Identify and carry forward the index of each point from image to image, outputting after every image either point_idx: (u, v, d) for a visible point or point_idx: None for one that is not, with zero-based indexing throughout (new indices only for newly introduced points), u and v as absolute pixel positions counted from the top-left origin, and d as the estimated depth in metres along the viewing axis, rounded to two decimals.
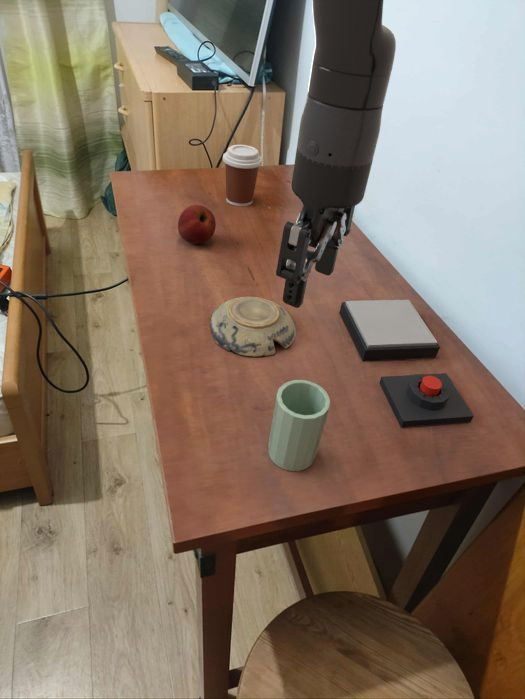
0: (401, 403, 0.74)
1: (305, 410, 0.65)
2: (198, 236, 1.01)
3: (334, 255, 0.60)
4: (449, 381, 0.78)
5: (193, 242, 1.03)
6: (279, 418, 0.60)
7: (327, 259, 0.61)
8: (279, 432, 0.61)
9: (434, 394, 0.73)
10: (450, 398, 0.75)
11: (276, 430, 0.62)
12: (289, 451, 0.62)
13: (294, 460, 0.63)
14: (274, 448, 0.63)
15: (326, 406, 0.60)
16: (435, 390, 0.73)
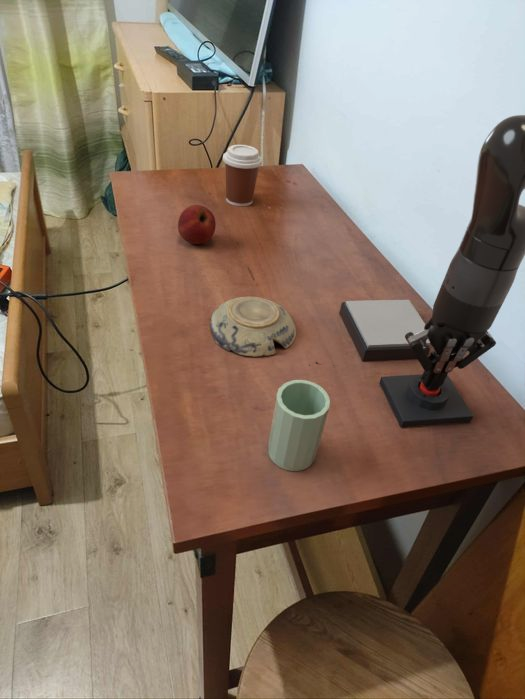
0: (401, 403, 0.74)
1: (305, 410, 0.65)
2: (198, 236, 1.01)
3: (439, 376, 0.71)
4: (449, 381, 0.78)
5: (193, 242, 1.03)
6: (279, 418, 0.60)
7: None
8: (279, 432, 0.61)
9: None
10: (450, 398, 0.75)
11: (276, 430, 0.62)
12: (289, 451, 0.62)
13: (294, 460, 0.63)
14: (274, 448, 0.63)
15: (326, 406, 0.60)
16: (433, 394, 0.73)
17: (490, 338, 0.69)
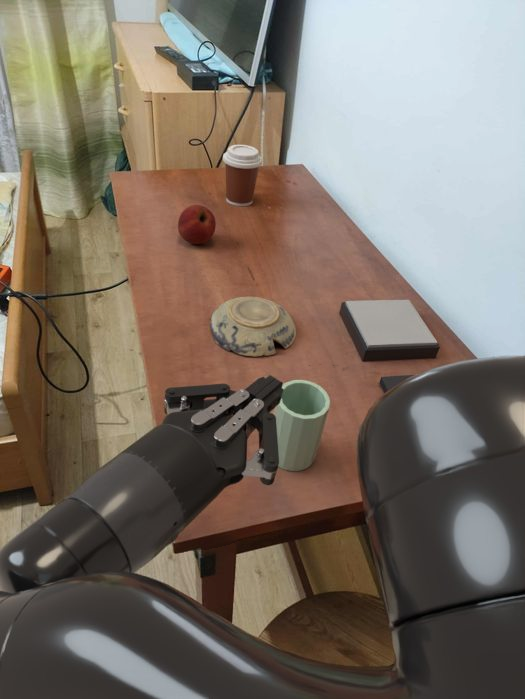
0: None
1: (305, 410, 0.65)
2: (198, 236, 1.01)
3: (259, 392, 0.47)
4: None
5: (193, 242, 1.03)
6: (279, 418, 0.60)
7: None
8: (279, 432, 0.61)
9: None
10: None
11: None
12: (289, 451, 0.62)
13: (294, 460, 0.63)
14: None
15: (326, 406, 0.60)
16: None
17: (168, 400, 0.45)
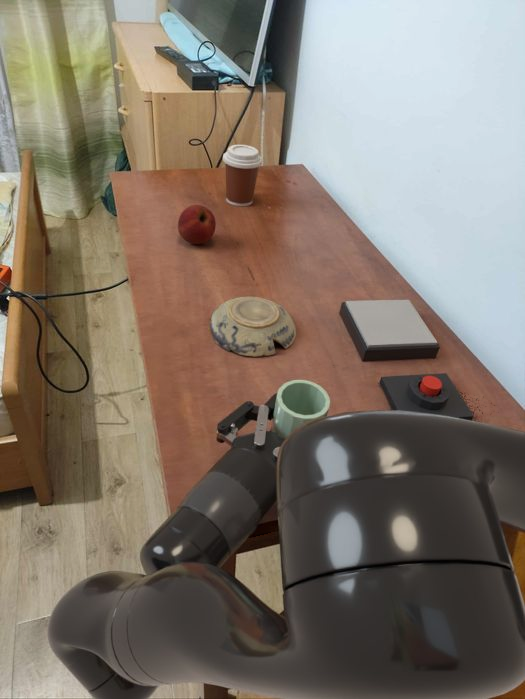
0: (401, 403, 0.74)
1: (305, 410, 0.65)
2: (198, 236, 1.01)
3: None
4: (449, 381, 0.78)
5: (193, 242, 1.03)
6: (279, 418, 0.60)
7: None
8: (279, 432, 0.61)
9: (434, 394, 0.73)
10: (450, 398, 0.75)
11: (276, 430, 0.62)
12: None
13: None
14: None
15: (326, 406, 0.60)
16: (435, 390, 0.73)
17: (222, 432, 0.59)
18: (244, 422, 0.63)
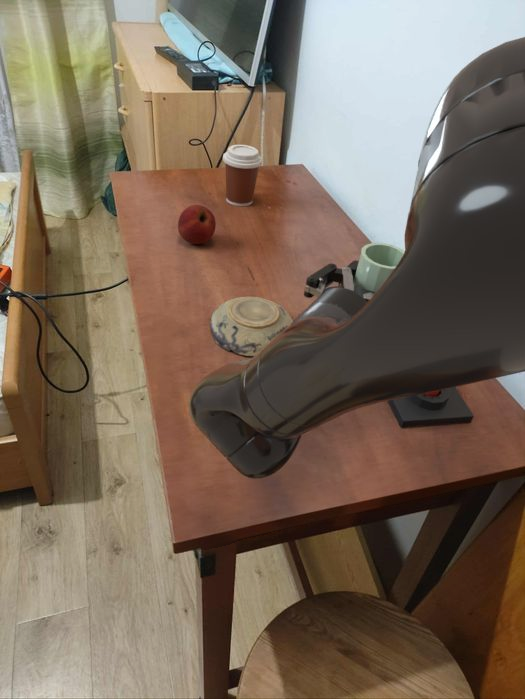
0: (401, 403, 0.74)
1: None
2: (198, 236, 1.01)
3: (356, 267, 0.67)
4: None
5: (193, 242, 1.03)
6: (363, 273, 0.64)
7: None
8: None
9: (434, 394, 0.73)
10: (450, 398, 0.75)
11: None
12: None
13: None
14: None
15: None
16: None
17: (312, 285, 0.63)
18: (327, 283, 0.67)
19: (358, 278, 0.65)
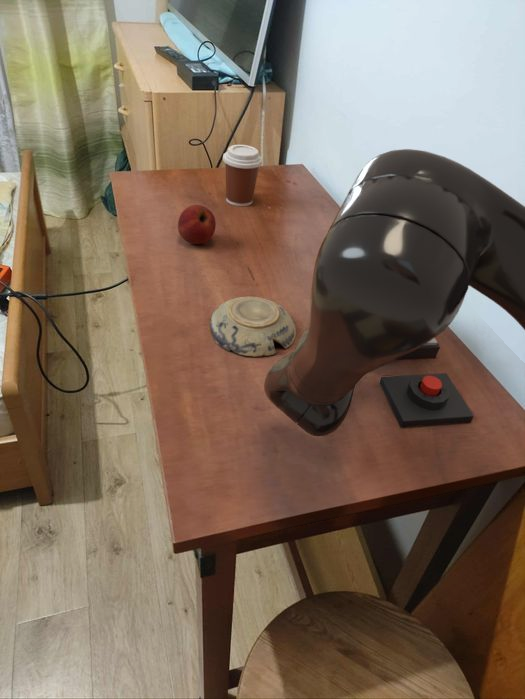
0: (401, 403, 0.74)
1: None
2: (198, 236, 1.01)
3: None
4: (449, 381, 0.78)
5: (193, 242, 1.03)
6: None
7: None
8: None
9: (434, 394, 0.73)
10: (450, 398, 0.75)
11: None
12: None
13: None
14: None
15: None
16: (435, 390, 0.73)
17: None
18: None
19: None
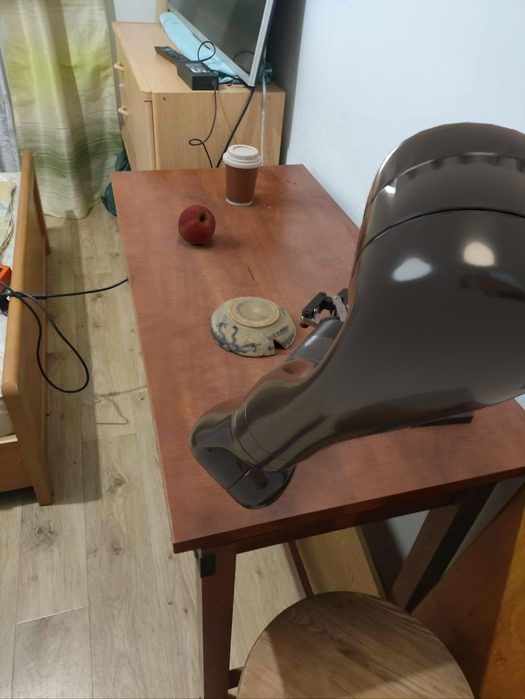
0: None
1: None
2: (198, 236, 1.01)
3: (346, 296, 0.69)
4: None
5: (193, 242, 1.03)
6: None
7: (347, 298, 0.70)
8: None
9: None
10: None
11: None
12: None
13: None
14: None
15: None
16: None
17: (307, 317, 0.65)
18: (319, 311, 0.69)
19: None
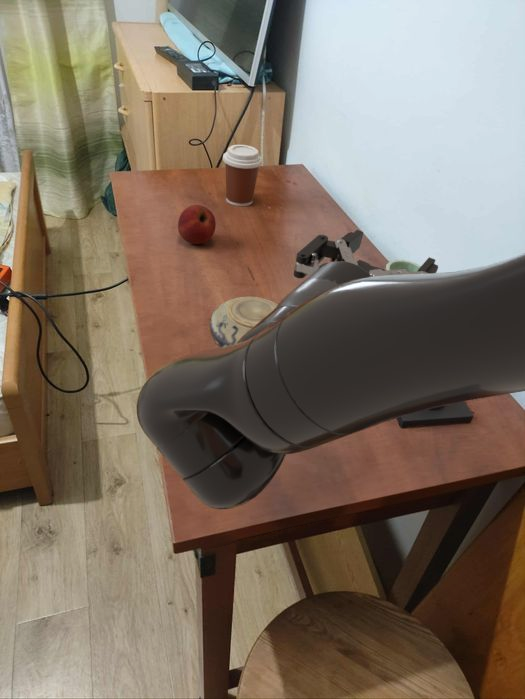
0: None
1: None
2: (198, 236, 1.01)
3: (352, 240, 0.55)
4: None
5: (193, 242, 1.03)
6: None
7: (354, 243, 0.56)
8: None
9: None
10: None
11: None
12: None
13: None
14: None
15: None
16: None
17: (304, 262, 0.51)
18: (318, 259, 0.55)
19: None
